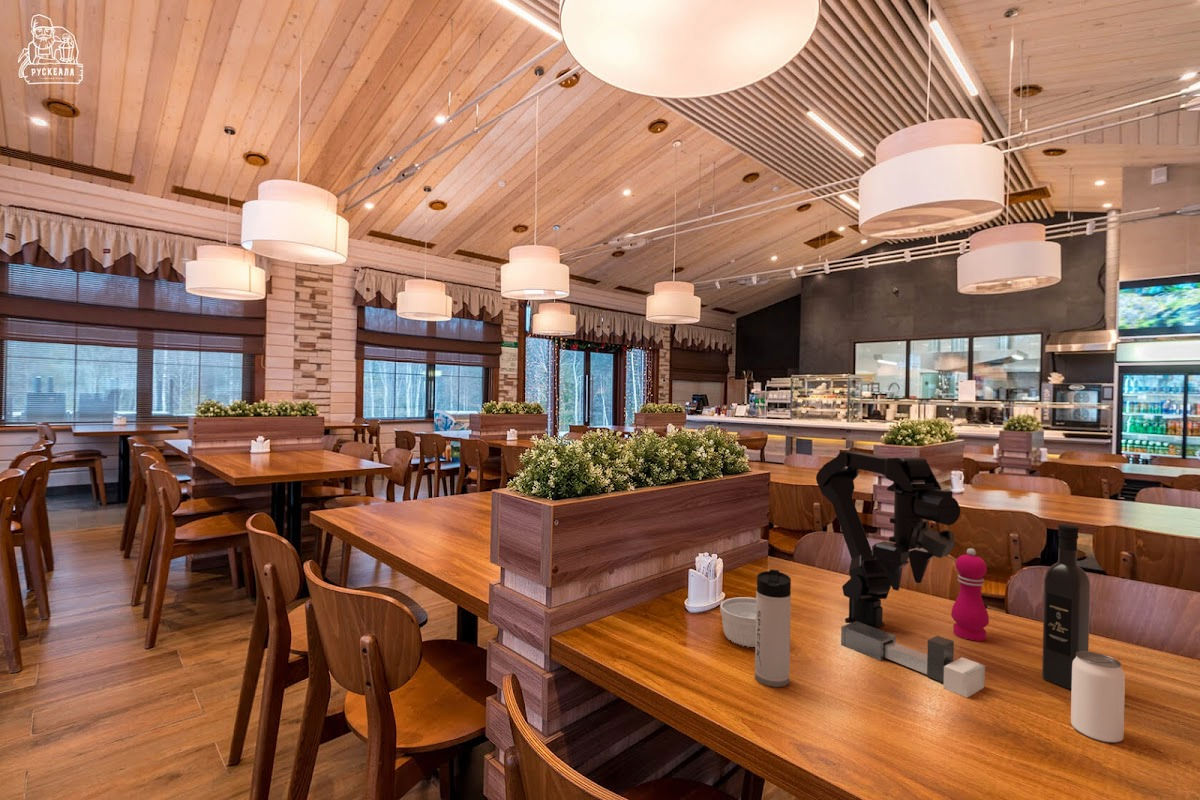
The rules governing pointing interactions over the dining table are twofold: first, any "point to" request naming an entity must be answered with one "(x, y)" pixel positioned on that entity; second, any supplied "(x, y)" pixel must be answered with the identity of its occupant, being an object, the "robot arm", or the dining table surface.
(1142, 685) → the dining table surface
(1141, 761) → the dining table surface
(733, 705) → the dining table surface
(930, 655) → the grey l-shaped block
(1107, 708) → the can
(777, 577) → the travel mug
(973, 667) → the grey rectangular block
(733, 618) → the ramekin
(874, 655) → the sleeve
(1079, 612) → the wine bottle
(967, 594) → the pepper mill
